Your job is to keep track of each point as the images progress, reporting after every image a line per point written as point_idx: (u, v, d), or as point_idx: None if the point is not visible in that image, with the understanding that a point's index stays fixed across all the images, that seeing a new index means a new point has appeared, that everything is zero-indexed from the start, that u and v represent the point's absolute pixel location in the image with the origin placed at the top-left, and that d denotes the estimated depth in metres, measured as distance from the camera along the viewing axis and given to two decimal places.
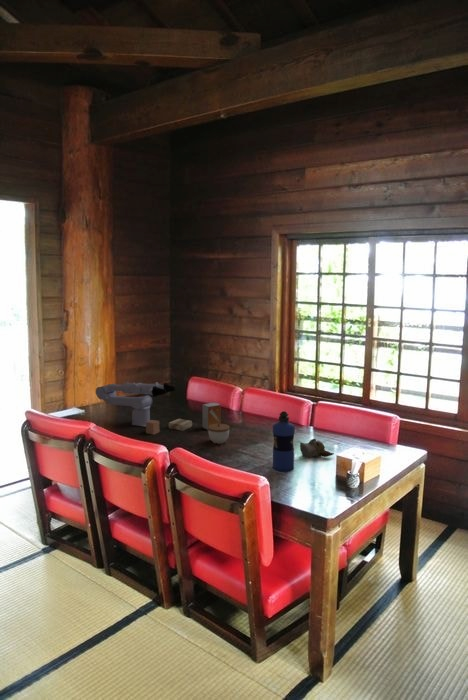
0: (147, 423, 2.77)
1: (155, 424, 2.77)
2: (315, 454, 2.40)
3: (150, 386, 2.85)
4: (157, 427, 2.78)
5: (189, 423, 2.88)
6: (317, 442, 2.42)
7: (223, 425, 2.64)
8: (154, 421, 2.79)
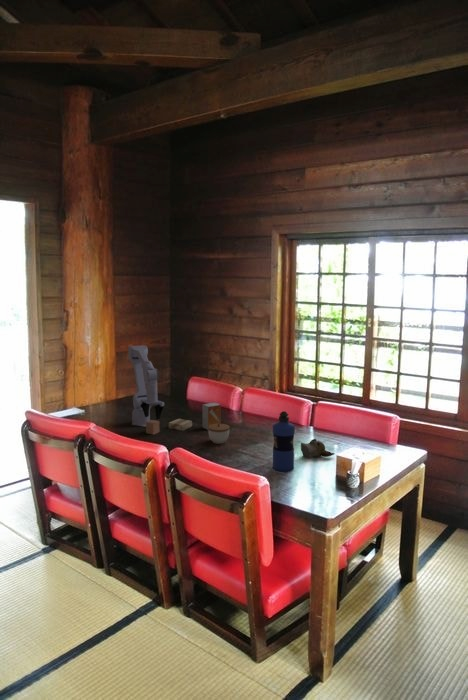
0: (147, 423, 2.77)
1: (155, 424, 2.77)
2: (316, 454, 2.40)
3: (146, 396, 2.75)
4: (157, 427, 2.78)
5: (189, 423, 2.88)
6: (318, 442, 2.42)
7: (223, 425, 2.64)
8: (154, 421, 2.79)
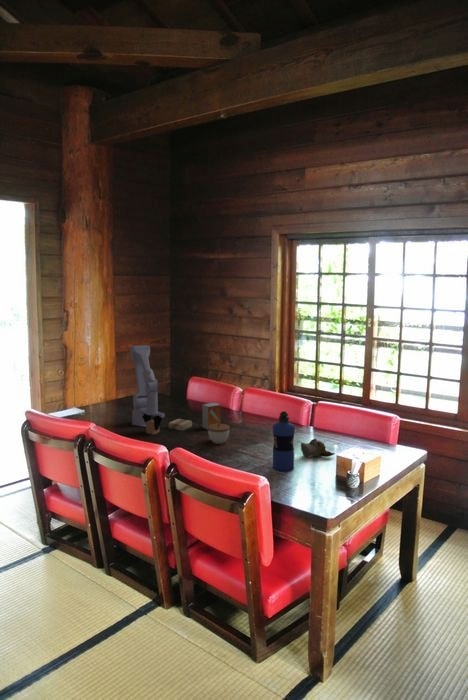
0: (147, 423, 2.77)
1: None
2: (316, 454, 2.40)
3: (146, 407, 2.76)
4: None
5: (189, 423, 2.88)
6: (318, 442, 2.42)
7: (223, 425, 2.64)
8: None
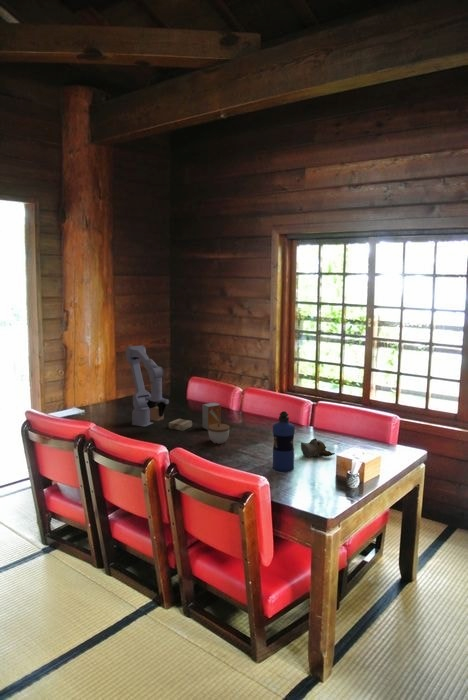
0: (151, 409, 2.77)
1: None
2: (316, 454, 2.41)
3: (151, 394, 2.77)
4: None
5: (189, 423, 2.88)
6: (318, 442, 2.42)
7: (223, 425, 2.64)
8: None
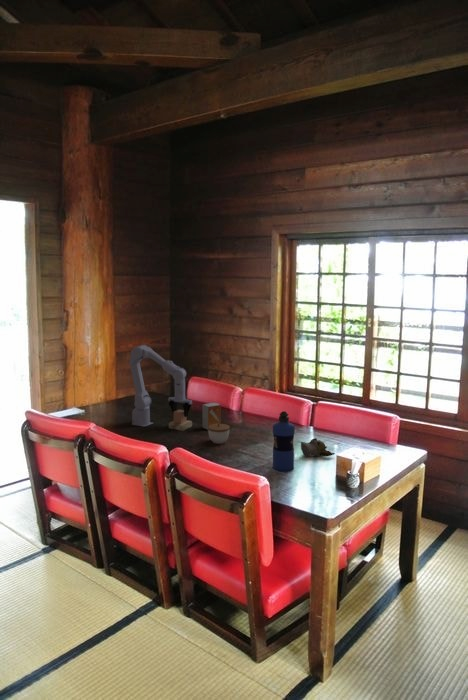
0: (175, 413, 2.86)
1: (183, 413, 2.85)
2: (316, 453, 2.41)
3: None
4: None
5: (189, 423, 2.88)
6: (318, 442, 2.42)
7: (223, 426, 2.64)
8: (181, 411, 2.87)
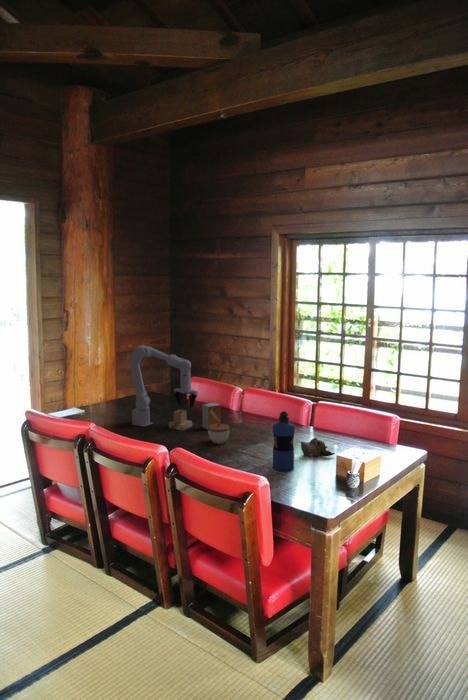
0: (175, 412, 2.86)
1: (183, 413, 2.86)
2: (316, 453, 2.41)
3: None
4: (184, 416, 2.87)
5: (189, 423, 2.88)
6: (318, 441, 2.43)
7: (223, 425, 2.64)
8: (181, 410, 2.88)
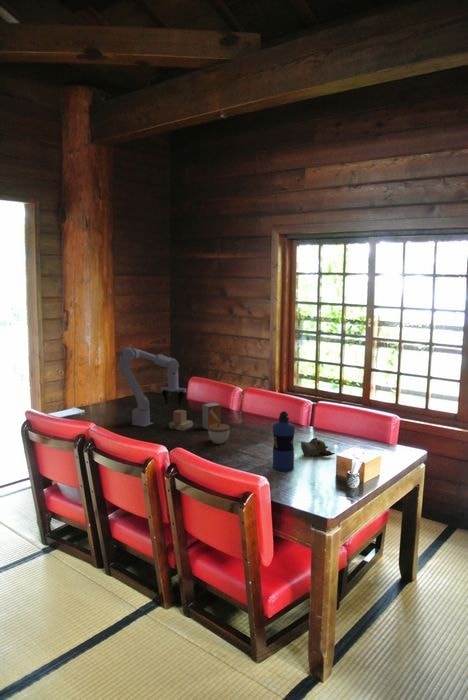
0: (174, 412, 2.86)
1: (183, 413, 2.85)
2: (316, 453, 2.42)
3: (168, 384, 2.93)
4: (184, 416, 2.87)
5: (190, 423, 2.88)
6: (318, 441, 2.43)
7: (223, 426, 2.64)
8: (181, 410, 2.87)
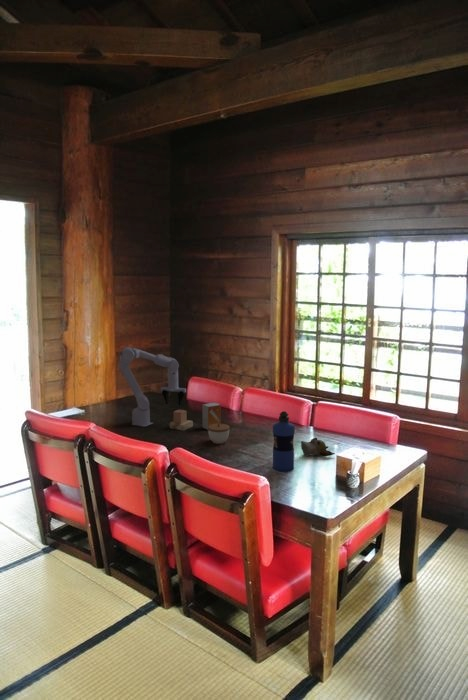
0: (175, 412, 2.86)
1: (183, 413, 2.85)
2: (316, 453, 2.42)
3: (168, 384, 2.93)
4: (184, 416, 2.87)
5: (190, 423, 2.88)
6: (318, 441, 2.43)
7: (223, 425, 2.64)
8: (181, 410, 2.87)
